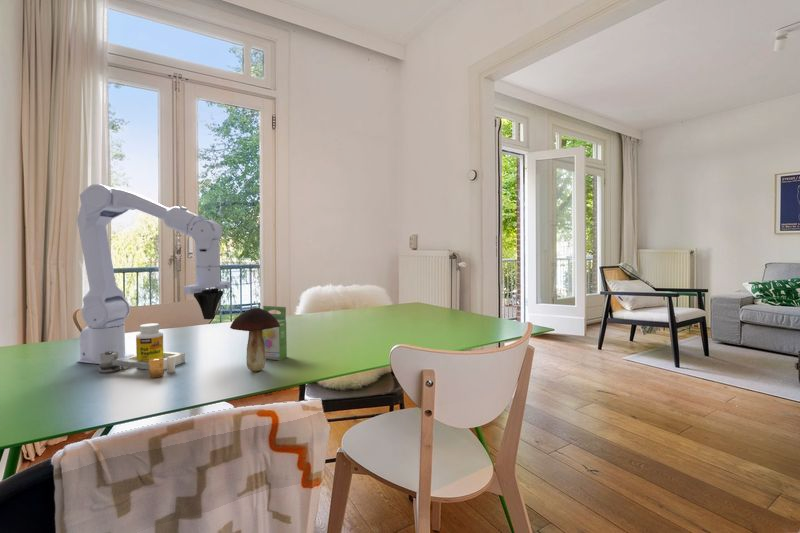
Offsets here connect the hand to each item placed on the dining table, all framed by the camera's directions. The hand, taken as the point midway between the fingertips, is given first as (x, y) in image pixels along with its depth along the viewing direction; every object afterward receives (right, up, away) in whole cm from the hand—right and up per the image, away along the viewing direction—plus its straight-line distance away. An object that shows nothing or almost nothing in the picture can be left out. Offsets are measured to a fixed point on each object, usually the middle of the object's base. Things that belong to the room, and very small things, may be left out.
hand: (209, 318), depth 103 cm
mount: (-18, -11, -10) cm, 24 cm away
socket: (-11, -11, -6) cm, 17 cm away
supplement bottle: (-11, -11, -6) cm, 17 cm away
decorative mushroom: (+16, -11, -10) cm, 22 cm away
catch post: (-4, -11, -10) cm, 16 cm away
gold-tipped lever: (-12, -11, -12) cm, 20 cm away
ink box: (+16, -11, +2) cm, 19 cm away
